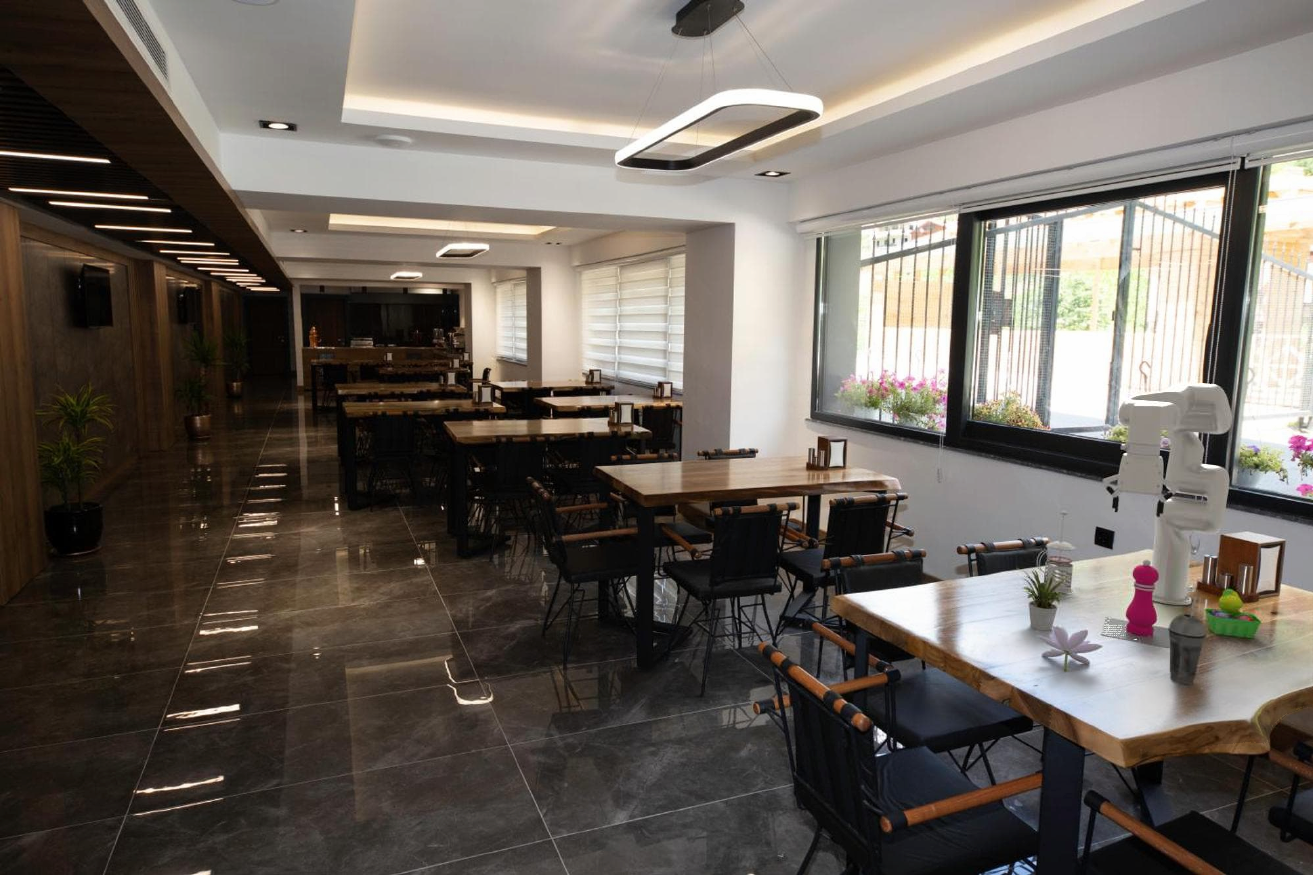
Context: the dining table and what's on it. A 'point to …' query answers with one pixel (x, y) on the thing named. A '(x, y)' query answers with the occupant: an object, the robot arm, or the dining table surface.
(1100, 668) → the dining table surface
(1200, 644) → the beverage cup
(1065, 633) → the water lily
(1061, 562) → the french press
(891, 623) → the dining table surface
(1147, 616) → the pepper mill
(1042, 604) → the house plant
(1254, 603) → the dining table surface
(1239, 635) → the fruit basket
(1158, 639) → the tile
